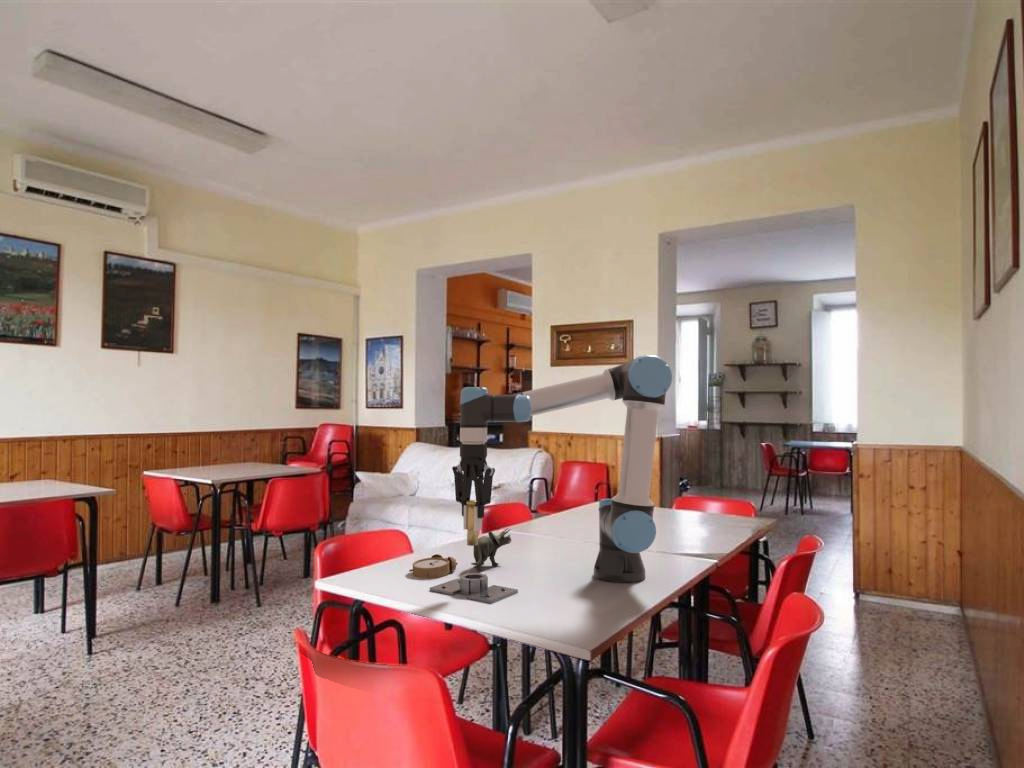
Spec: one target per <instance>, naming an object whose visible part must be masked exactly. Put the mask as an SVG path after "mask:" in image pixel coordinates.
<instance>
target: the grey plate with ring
mask: <svg viewBox="0 0 1024 768" xmlns="http://www.w3.org/2000/svg"><path fill="white" fill-rule="evenodd" d="M488 580H489V579H488V575H487V574H486V573H485V574H484V573H479V572H478V573H477V572H473V573H470V572H469V573H464V574H462V575H459V577H457V578H455V579H452V580H448V581H446V582H442V583H440V584H436V585H434V586H431V587H429V591H430V592H435V593H440V594H444V595H448V596H449V595H450V596H455V595H457V594H461V595H465V596H466V599H468V600H472V601H477V602H483V603H488V604H493V603H496V602H499V601H501V600H503V599H506V598H508V597H511V596H513V595H516V594H518V593H519V589H517V588H511V587H508V586H507V587H506V586H501V585H496V584H495V585H494V584H493V585H491V586H488V585H489V581H488Z"/></svg>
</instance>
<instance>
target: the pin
mask: <svg viewBox="0 0 1024 768" xmlns="http://www.w3.org/2000/svg"><path fill="white" fill-rule="evenodd" d="M466 504H467V505H468V512H467V529H466V530H467V533H466V535H467V536H466V537H467V538H466V545H467V546H469V547H472V546H473V547H474V546H476V545H478V539H479V530H478V531H474V506H475V505H476V499H470V500H468V501H466Z"/></svg>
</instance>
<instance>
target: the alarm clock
mask: <svg viewBox="0 0 1024 768" xmlns="http://www.w3.org/2000/svg"><path fill="white" fill-rule="evenodd" d="M457 565H458V562H457V560H456V558H454V557H452V556H447V557H443V556H442V554H438V553H437V554H434V555H433V554H432V556H431V557H426V558H421V559H418V560H415V561H414V562H413V563H412V568H411V569H409V570H408V572H412V575H413V576H414V577H417V578H421V579H436V578H441V577H444V576H447V575H448V574H450V573H453V572H455V571H456V569H457Z"/></svg>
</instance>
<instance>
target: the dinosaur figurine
mask: <svg viewBox="0 0 1024 768" xmlns="http://www.w3.org/2000/svg"><path fill="white" fill-rule="evenodd" d="M510 531H511V528H508V527H507V528H506V529H504V530H502V531H501V532H500V533H499V534H498V535H496V534H494V533H493V532H492V531H490V530H489V531H488V536H487V535H482V536H481V537H478V545H476V546H473V558H474V561H475V562H471V563H470V564H471V565H472V566H473V568H474V569H476V571H479V572H481V573H482V572H483V569H482V565H485V562H486V561H487V560H488V559H489V561H490V563H491V566H492V567H497V566H499V563H498V562H496V559H495V556H496V554H497V551H498V549H500V548H501V547H502V546H503V547H504V546H506V545H510V543H512V538H511V534H508V533H509V532H510ZM507 534H508V535H507Z"/></svg>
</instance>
